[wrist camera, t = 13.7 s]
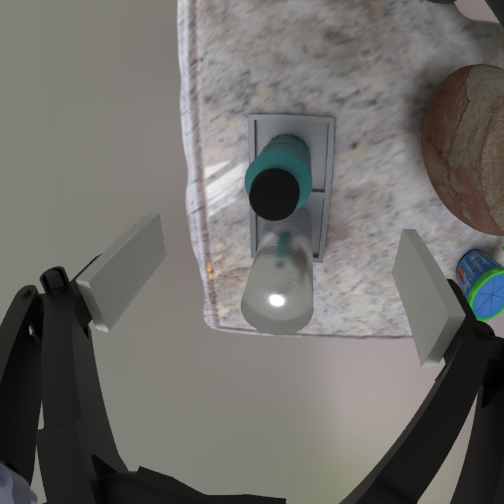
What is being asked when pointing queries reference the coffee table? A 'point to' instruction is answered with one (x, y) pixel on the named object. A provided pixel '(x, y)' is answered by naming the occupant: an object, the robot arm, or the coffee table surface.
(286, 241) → the canister
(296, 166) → the beverage bottle
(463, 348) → the robot arm
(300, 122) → the tray
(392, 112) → the coffee table surface
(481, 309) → the snack cup
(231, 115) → the coffee table surface
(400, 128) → the coffee table surface
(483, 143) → the jug
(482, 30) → the coffee table surface
